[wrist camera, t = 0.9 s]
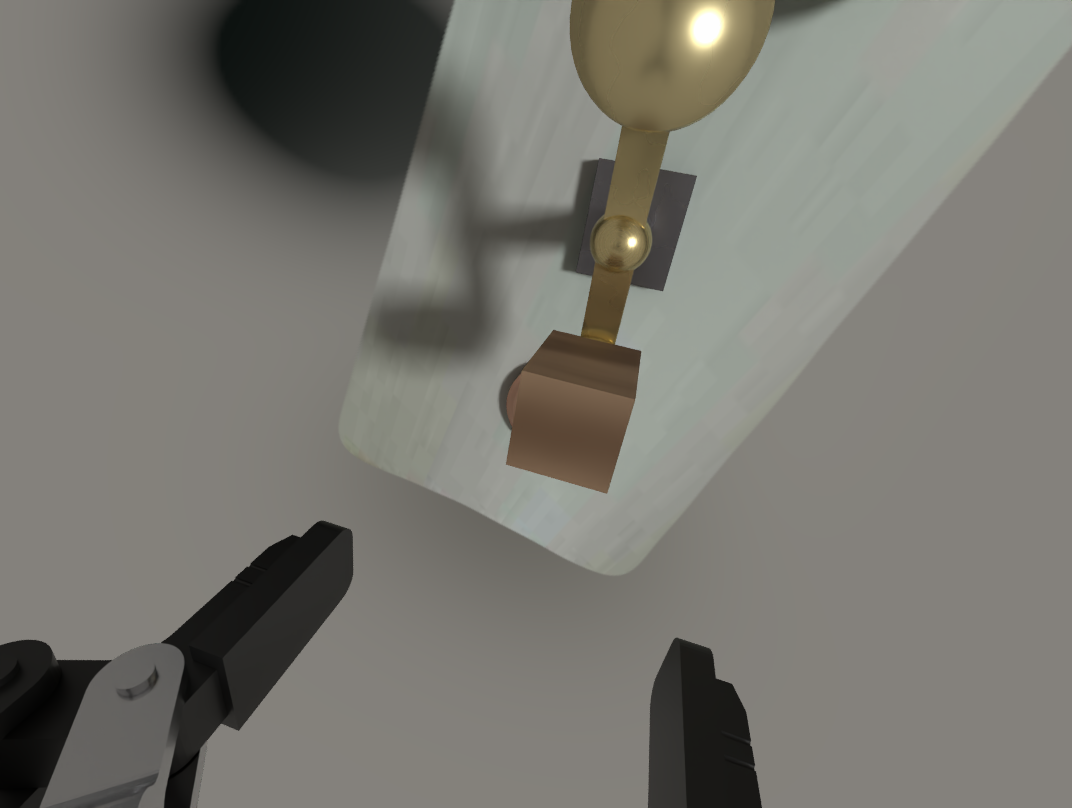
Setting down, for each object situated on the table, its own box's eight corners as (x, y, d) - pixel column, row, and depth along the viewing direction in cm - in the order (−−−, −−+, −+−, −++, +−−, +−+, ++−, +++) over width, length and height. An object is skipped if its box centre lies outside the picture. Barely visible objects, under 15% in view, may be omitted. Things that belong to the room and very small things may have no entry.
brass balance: (627, 33, 26) (592, -132, 13) (733, 48, 26) (813, -111, 12) (563, 344, 35) (502, 439, 22) (640, 363, 34) (627, 474, 21)
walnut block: (553, 329, 23) (521, 370, 18) (641, 351, 23) (635, 399, 17) (538, 407, 25) (506, 464, 20) (618, 428, 25) (607, 493, 19)
